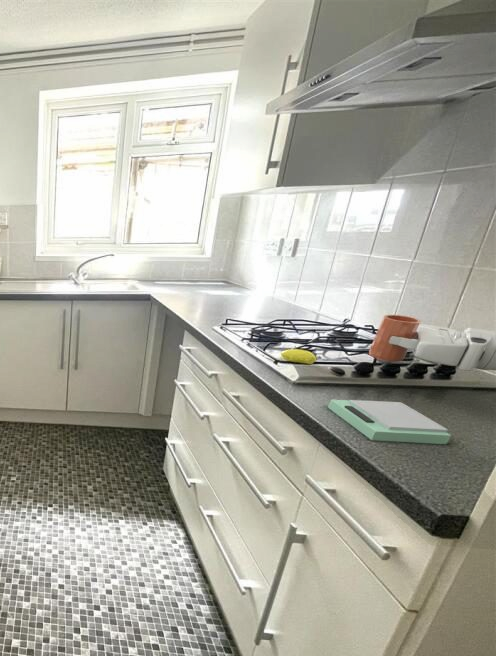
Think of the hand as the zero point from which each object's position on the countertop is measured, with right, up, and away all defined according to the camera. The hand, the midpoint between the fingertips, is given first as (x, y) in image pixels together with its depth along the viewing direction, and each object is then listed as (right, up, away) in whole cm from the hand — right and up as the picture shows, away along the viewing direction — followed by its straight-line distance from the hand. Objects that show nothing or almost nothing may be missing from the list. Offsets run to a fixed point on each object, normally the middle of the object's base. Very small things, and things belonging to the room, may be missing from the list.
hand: (389, 335), depth 103 cm
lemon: (-15, -6, +11) cm, 20 cm away
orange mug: (+1, -5, +2) cm, 6 cm away
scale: (-20, -21, -19) cm, 35 cm away
